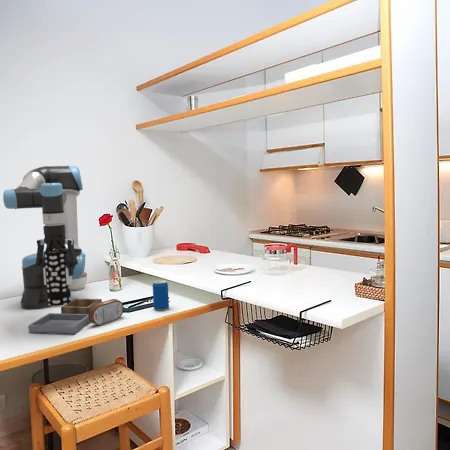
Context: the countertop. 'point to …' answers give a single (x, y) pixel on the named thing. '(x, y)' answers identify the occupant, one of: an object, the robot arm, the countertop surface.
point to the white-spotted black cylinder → (56, 278)
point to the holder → (79, 306)
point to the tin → (106, 311)
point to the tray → (59, 324)
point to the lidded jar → (79, 282)
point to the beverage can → (160, 295)
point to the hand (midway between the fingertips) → (58, 284)
